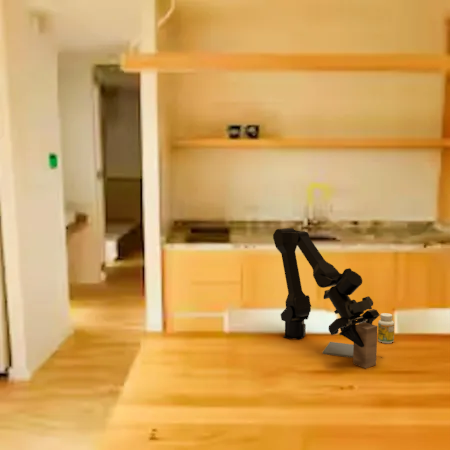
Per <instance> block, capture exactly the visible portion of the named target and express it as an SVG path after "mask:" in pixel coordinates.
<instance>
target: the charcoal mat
mask: <svg viewBox="0 0 450 450" xmlns="http://www.w3.org/2000/svg"><path fill="white" fill-rule="evenodd" d="M353 347H354V344H352V343H351V344H350V343H342V342H335V341H329V343H327V346H326V347H325V348H324V349H323V351H322V355H329V356H337V357H344V358H350V359H351V358H352V359H353Z"/></svg>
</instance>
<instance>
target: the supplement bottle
mask: <svg viewBox="0 0 450 450" xmlns="http://www.w3.org/2000/svg"><path fill="white" fill-rule="evenodd" d="M379 318H380V319H379V320H378V321H377V322H378V323H377V324H378V325H377V342H379V343H381V342H382V344H392V342H393V343H394V341H395V340H394V339H395V321H394V320H393V314H392V313H388V312H382V313H380V316H379Z"/></svg>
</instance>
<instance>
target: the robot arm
mask: <svg viewBox="0 0 450 450" xmlns="http://www.w3.org/2000/svg"><path fill="white" fill-rule="evenodd" d="M272 239H273V243H274V246H275V249H277V251H278V252H279V253H280V255H281V258H282V266H283V270H284V278H285V280H286V287H287V297H286V299H285V309H284V310H283V311H282V312H281V313H280V319H281V321H283V322H284V335H283V338H284V339H291V340H297V341H298V340H302V339H304V337H305V336H306V328H307V327H306V325H307V324H306V323H305V320H308V319H309V315H310V313H311V311H312V309H311V307H312V304H311V301H310V300H311V298H310V295H306V294H305V292H304V291H303V288H302V282H301V278H300V277H301V276H300V273H299V272H300V270H299V266H298V261H297V255H296V250H297V248H299V250H300V251H301V253H302V255H303V256H304V258H305V260H306V261H307V262H308V264H309V265H310V267H311V268H312V277H313V278H314V281H315V282H316V284H317V286H318V288H319V287H320V288H323V289H324V288H329V287H330V288H329V289H327V290H324V294H323V300H327V299H329V300H330V302H331V304H332V306H333V307H334V308H335V309H334V313H335V315H339V318H336V319H335V320H334V321H332V323H330V324H329V325H328V331H329V333H330V335H331V336H334V335H337V334H338V335H339V336H343V337H344V338H346V339H348V340H349V341H351V342H352V343H353V344H354V343H355V344H357V345H358V346H360V347H361V348H362V347H364V344H363V342H362V340H361V338H360V336H359V335H358V333H357V331H356V324H360V323H364V322H366V323H369V324H372V325H373V322H374V321H375V320H376V319H378V317H380V315H381V313H379V311H378V310H377V309H376V308H373V307H372V306H374V301H373V299H372V298H371V297H370V296H365V297H362V298H361V299H362V300H360V301H357V300H355V299H351V297H350V295H353V293H355V291H357V290H358V289H359V287H360V286H361V285H362V284H363V278H362V276H361V275H360V274H359V273H357V272H356V271H353V270H352V269H351V268H350V267H349V268H345V269H344V270H343V272H342V273H340V272H339V270H338V269H337V268H336V267H335V266H334V265H333V264H331V263H330V262H328V261H327V260H326V259H324V257H323V255H322V254H321V252H320V251H319V250H318V248H317V246H316V245H315V244H314V242H313V241H312V239H311V238H310V235H309V232H308V231H305V230H296V229H294V228H293V227H286V228H285V227H284V228H277V229H276V230H274V232H273V234H272ZM339 330H340V332H339Z"/></svg>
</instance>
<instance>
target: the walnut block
mask: <svg viewBox="0 0 450 450" xmlns="http://www.w3.org/2000/svg"><path fill="white" fill-rule="evenodd" d="M356 331H357V333H358V335H359V336H360V338H361V340H362V342H363V344H364V347H362V348H361V347H360V346H358V345H357V344H355V343H354V342H353V345H354V347H353V358H352V364H353V365H356V366H358V367H361V368H363V369H369V368H371V367H373V366H376V365H377V351H378V350H377V347H378V346H377V345H378V325H376V324H373V323H372V324H369V323H366V322H364V323H360V324H358V323H357V324H356Z"/></svg>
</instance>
